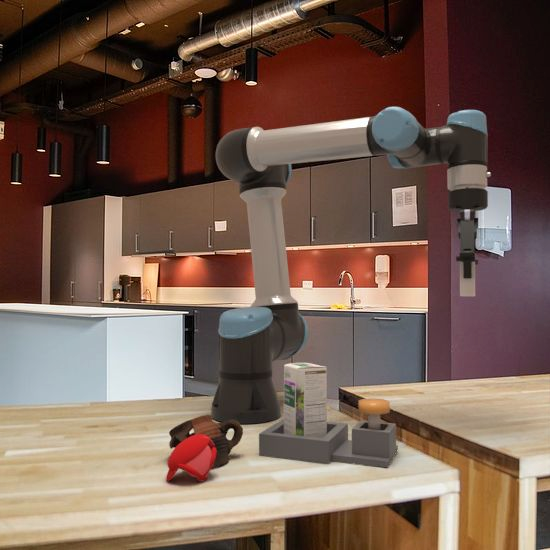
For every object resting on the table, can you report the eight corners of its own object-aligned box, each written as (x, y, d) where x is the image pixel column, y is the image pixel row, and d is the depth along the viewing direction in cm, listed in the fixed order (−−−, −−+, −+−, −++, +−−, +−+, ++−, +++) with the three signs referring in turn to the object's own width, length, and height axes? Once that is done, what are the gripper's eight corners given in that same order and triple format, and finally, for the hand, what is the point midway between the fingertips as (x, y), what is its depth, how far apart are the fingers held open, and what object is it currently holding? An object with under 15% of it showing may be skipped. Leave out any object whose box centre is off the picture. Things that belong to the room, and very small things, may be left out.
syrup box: (282, 447, 92) (281, 363, 92) (311, 442, 94) (310, 361, 95) (298, 456, 87) (297, 367, 87) (328, 451, 89) (327, 365, 90)
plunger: (355, 437, 85) (355, 403, 85) (362, 430, 89) (362, 397, 89) (386, 441, 83) (386, 405, 83) (392, 433, 87) (392, 399, 87)
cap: (212, 444, 82) (179, 427, 81) (226, 441, 78) (191, 422, 76) (190, 495, 78) (154, 478, 77) (203, 495, 73) (165, 476, 72)
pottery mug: (184, 479, 78) (166, 426, 81) (178, 487, 86) (161, 439, 89) (256, 448, 83) (237, 399, 86) (244, 458, 91) (227, 413, 94)
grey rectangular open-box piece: (259, 455, 87) (258, 424, 87) (285, 436, 98) (285, 409, 98) (386, 471, 79) (385, 437, 79) (399, 448, 90) (398, 419, 90)
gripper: (489, 176, 92) (489, 297, 92) (486, 198, 116) (487, 295, 115) (444, 179, 95) (444, 296, 95) (450, 200, 118) (451, 295, 118)
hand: (468, 296), depth 105 cm, fingers open, 13 cm apart
